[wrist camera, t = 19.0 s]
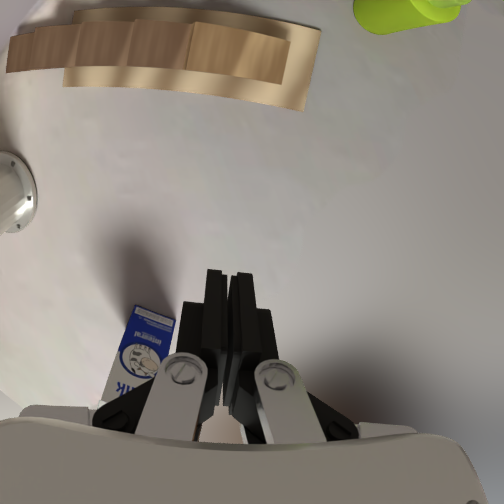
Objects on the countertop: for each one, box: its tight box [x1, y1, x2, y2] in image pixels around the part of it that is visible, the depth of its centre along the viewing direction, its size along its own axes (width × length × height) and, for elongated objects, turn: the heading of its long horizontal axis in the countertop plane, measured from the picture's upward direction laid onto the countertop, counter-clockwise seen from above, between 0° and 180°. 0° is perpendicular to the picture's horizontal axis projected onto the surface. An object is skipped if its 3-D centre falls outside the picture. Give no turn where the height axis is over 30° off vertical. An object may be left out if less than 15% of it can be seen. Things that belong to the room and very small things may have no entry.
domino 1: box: [6, 32, 66, 73], centre depth 27 cm, size 2×5×10 cm
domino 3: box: [75, 21, 167, 69], centre depth 26 cm, size 2×5×10 cm
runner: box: [63, 7, 321, 112], centre depth 30 cm, size 29×10×1 cm, turn 79°
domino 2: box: [29, 24, 82, 70], centre depth 26 cm, size 2×5×10 cm
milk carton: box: [97, 305, 176, 409], centre depth 40 cm, size 7×7×20 cm
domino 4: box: [127, 19, 222, 75], centre depth 27 cm, size 2×5×10 cm
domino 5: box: [183, 22, 291, 85], centre depth 28 cm, size 2×5×10 cm
